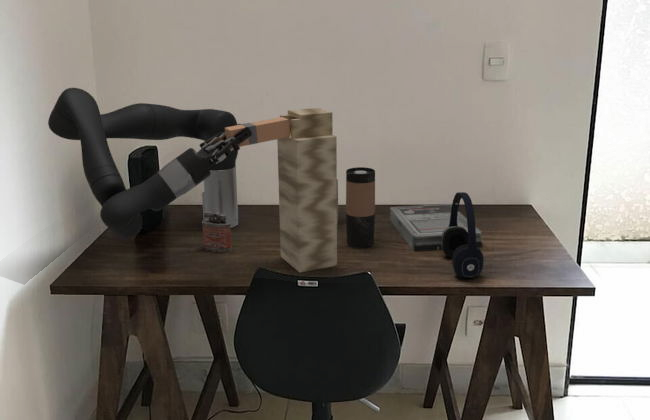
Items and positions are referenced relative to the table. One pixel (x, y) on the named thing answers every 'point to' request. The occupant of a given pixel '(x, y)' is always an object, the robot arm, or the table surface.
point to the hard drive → (426, 225)
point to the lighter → (216, 232)
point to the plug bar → (262, 130)
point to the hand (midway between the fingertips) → (246, 128)
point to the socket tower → (308, 190)
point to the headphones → (462, 241)
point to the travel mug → (360, 207)
